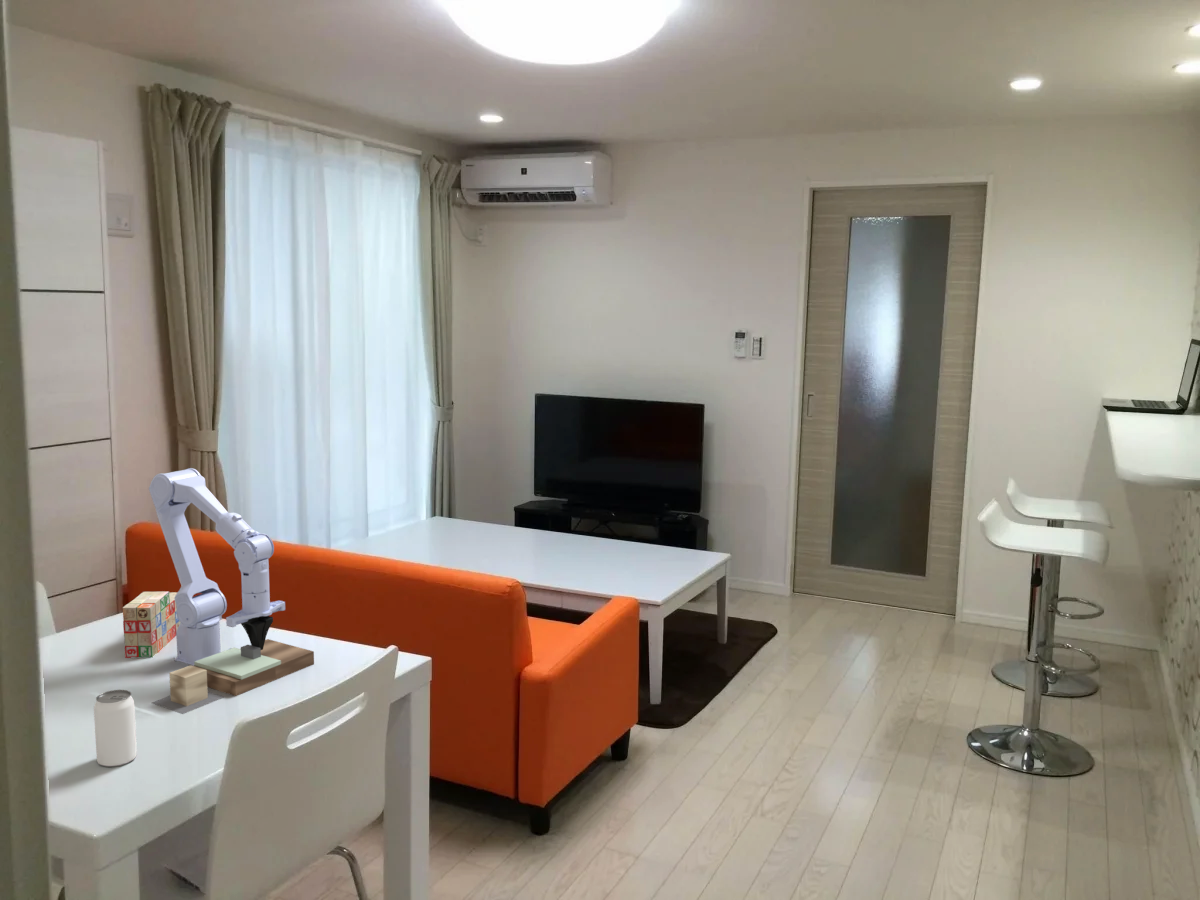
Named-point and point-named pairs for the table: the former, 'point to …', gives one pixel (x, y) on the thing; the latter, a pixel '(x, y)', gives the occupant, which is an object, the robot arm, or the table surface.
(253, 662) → the lid
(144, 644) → the stack of blocks
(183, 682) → the block
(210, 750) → the table surface
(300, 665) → the brown wooden shallow box
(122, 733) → the can
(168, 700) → the mat
